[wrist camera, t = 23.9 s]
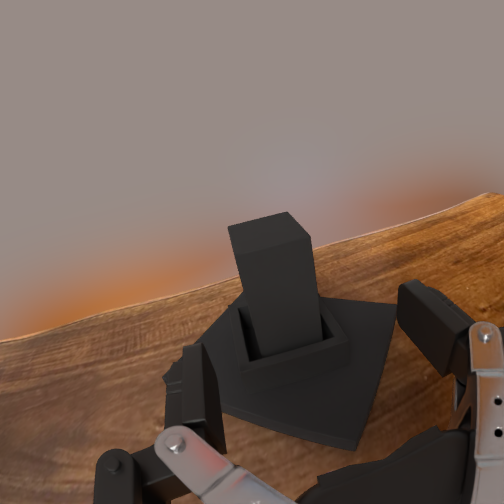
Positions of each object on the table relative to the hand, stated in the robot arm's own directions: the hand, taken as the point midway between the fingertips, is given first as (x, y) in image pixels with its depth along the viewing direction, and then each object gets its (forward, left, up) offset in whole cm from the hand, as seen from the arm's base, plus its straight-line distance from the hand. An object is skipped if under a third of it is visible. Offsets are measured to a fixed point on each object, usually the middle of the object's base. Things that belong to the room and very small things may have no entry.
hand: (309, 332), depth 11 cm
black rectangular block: (+8, +6, -9) cm, 13 cm away
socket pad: (+8, +6, -11) cm, 14 cm away
